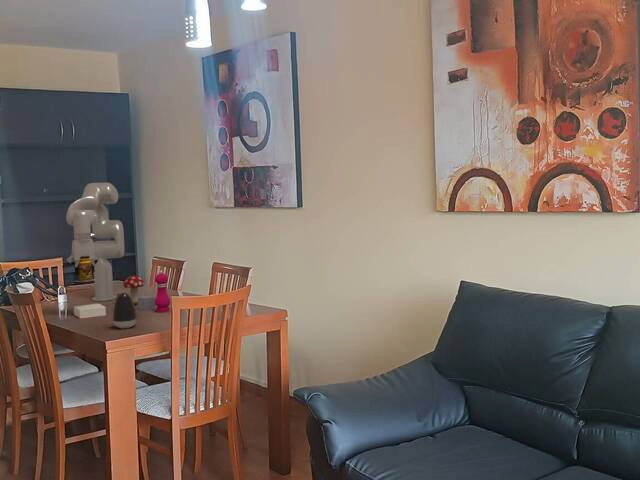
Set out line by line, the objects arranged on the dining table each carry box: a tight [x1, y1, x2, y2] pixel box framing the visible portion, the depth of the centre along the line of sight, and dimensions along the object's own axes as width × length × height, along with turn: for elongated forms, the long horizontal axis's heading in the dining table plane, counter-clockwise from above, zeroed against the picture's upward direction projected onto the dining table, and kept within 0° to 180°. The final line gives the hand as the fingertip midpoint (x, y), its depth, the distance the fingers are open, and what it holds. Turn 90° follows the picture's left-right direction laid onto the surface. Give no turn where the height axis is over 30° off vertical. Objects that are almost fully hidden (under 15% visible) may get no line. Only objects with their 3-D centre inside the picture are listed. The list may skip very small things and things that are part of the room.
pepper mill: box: [154, 270, 171, 313], centre depth 348 cm, size 7×7×20 cm
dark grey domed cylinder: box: [111, 292, 138, 329], centre depth 314 cm, size 10×10×15 cm
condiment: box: [75, 256, 96, 283], centre depth 344 cm, size 7×8×12 cm
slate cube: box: [137, 295, 157, 311], centre depth 357 cm, size 6×6×6 cm
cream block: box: [73, 303, 107, 319], centre depth 346 cm, size 12×12×4 cm
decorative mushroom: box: [122, 275, 145, 306], centre depth 370 cm, size 11×11×15 cm
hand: (84, 274), depth 345 cm, fingers closed on condiment, 6 cm apart
